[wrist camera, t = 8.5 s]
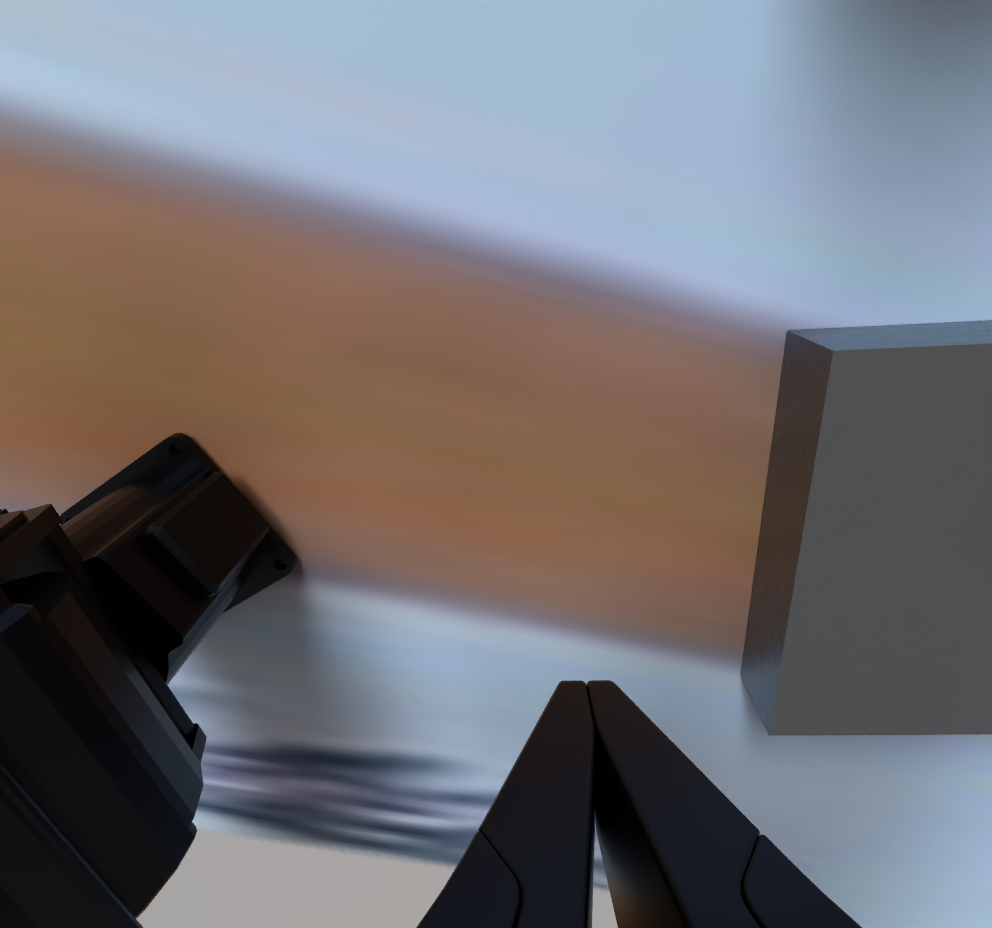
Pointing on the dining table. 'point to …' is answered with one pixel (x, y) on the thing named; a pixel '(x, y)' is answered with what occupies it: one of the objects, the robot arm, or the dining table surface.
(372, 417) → the dining table surface
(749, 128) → the dining table surface
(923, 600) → the lever base
